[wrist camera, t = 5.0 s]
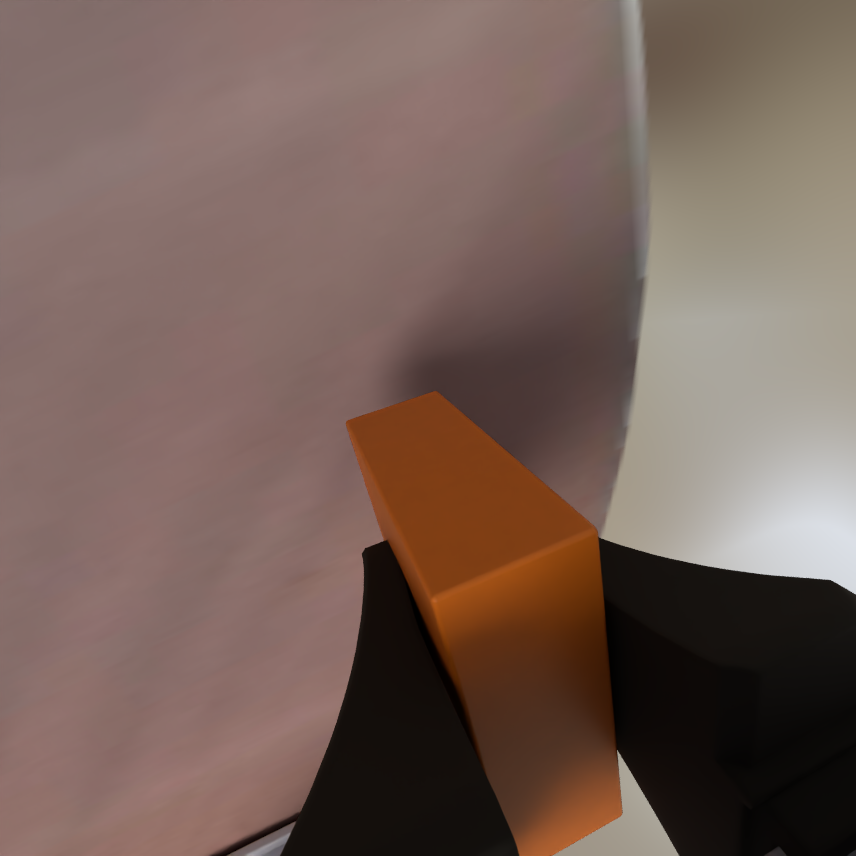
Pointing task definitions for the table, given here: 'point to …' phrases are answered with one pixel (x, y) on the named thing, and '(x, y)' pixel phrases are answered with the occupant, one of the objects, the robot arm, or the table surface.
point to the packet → (502, 613)
